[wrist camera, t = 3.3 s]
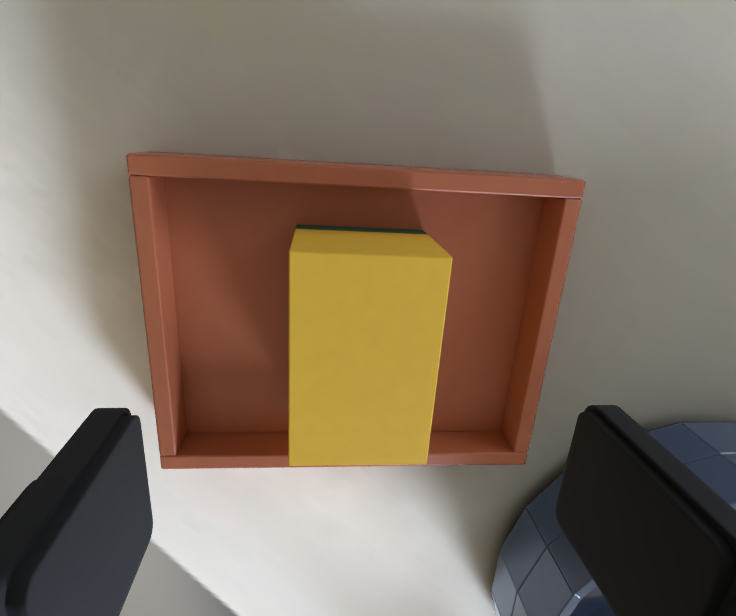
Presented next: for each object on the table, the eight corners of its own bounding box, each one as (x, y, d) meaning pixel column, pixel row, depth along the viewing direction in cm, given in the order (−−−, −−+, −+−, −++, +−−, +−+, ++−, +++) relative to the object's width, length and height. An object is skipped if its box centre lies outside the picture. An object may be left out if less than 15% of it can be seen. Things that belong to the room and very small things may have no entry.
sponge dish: (148, 151, 15) (125, 153, 13) (557, 175, 17) (587, 180, 15) (176, 437, 19) (161, 469, 17) (506, 435, 21) (525, 464, 19)
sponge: (296, 224, 16) (288, 250, 12) (423, 229, 17) (453, 257, 13) (295, 399, 18) (288, 466, 15) (406, 399, 19) (427, 464, 15)
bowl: (520, 414, 20) (579, 496, 16) (860, 413, 22) (1003, 488, 18) (467, 672, 26) (499, 789, 21) (740, 655, 28) (824, 759, 23)
